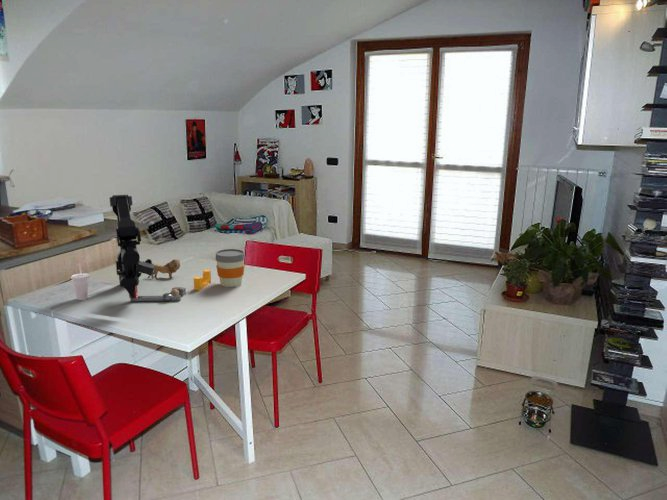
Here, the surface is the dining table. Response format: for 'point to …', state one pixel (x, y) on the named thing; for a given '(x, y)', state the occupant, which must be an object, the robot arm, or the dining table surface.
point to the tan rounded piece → (175, 292)
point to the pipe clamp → (202, 280)
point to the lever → (156, 297)
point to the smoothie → (81, 284)
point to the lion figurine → (166, 268)
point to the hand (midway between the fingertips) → (133, 295)
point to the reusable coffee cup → (230, 267)
